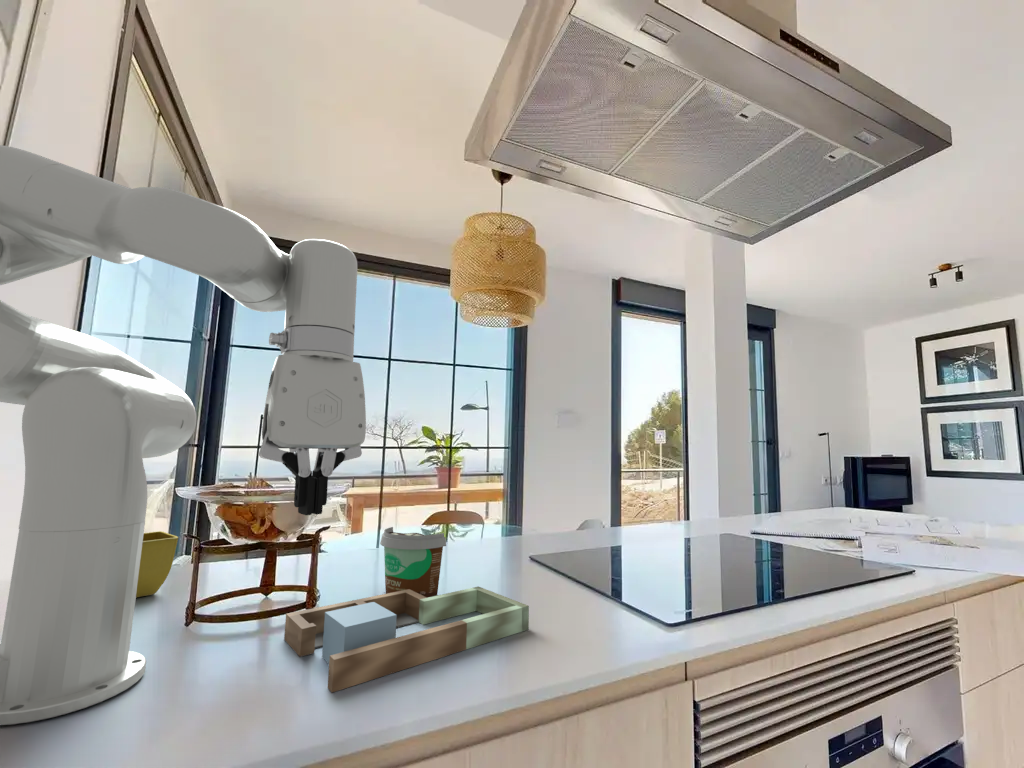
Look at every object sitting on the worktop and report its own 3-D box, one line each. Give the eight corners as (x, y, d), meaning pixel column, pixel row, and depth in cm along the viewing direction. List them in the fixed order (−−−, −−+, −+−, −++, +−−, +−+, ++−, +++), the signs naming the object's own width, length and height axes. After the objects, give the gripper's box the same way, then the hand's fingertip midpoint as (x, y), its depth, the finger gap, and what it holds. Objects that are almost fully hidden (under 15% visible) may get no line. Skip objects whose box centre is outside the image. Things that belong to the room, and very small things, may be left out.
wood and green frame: (331, 692, 45) (334, 659, 46) (284, 639, 58) (286, 613, 58) (528, 629, 62) (528, 605, 63) (458, 598, 75) (459, 579, 75)
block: (342, 677, 49) (345, 627, 49) (321, 658, 53) (325, 612, 54) (394, 661, 53) (396, 614, 53) (371, 644, 57) (373, 601, 58)
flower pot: (102, 609, 68) (110, 545, 69) (87, 597, 73) (95, 537, 74) (173, 594, 75) (179, 536, 76) (155, 584, 80) (161, 530, 81)
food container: (361, 594, 76) (364, 531, 78) (387, 585, 82) (390, 526, 83) (420, 607, 71) (423, 539, 72) (444, 596, 76) (446, 533, 77)
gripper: (254, 333, 46) (239, 525, 43) (394, 353, 55) (388, 511, 53) (238, 345, 51) (224, 516, 49) (367, 362, 61) (361, 505, 59)
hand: (309, 513), depth 51 cm, fingers closed
